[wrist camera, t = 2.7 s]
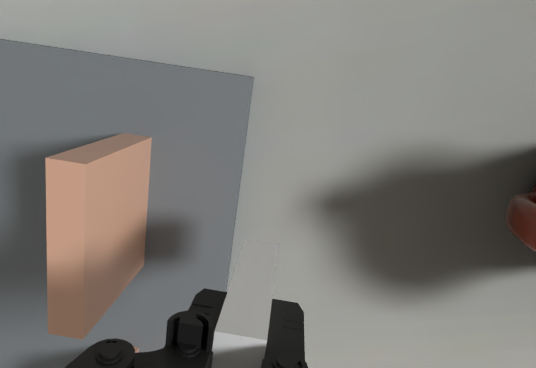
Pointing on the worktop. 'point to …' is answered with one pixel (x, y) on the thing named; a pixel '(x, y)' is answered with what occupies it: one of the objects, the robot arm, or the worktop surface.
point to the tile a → (94, 228)
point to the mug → (523, 218)
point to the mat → (159, 194)
